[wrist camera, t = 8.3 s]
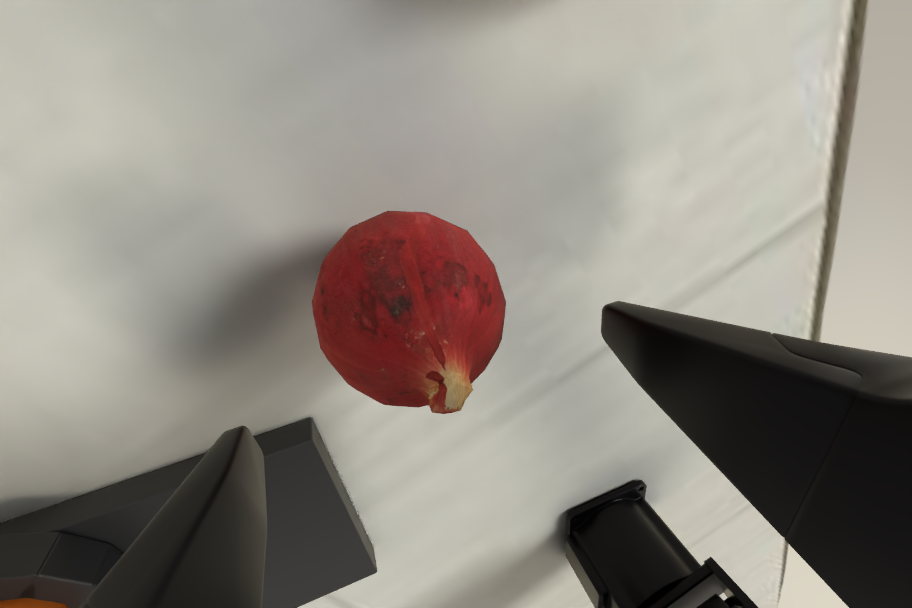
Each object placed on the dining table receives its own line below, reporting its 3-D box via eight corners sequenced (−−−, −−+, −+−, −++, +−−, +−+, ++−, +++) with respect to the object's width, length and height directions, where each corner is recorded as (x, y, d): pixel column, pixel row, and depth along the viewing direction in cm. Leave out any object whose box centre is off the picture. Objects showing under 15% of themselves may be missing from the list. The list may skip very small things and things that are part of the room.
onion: (279, 231, 14) (252, 363, 7) (428, 163, 14) (538, 222, 7) (357, 351, 17) (392, 522, 10) (476, 290, 17) (584, 414, 11)
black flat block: (305, 404, 17) (306, 457, 15) (374, 548, 23) (382, 604, 20) (-116, 544, 14) (-208, 642, 11) (89, 669, 20) (58, 752, 17)
